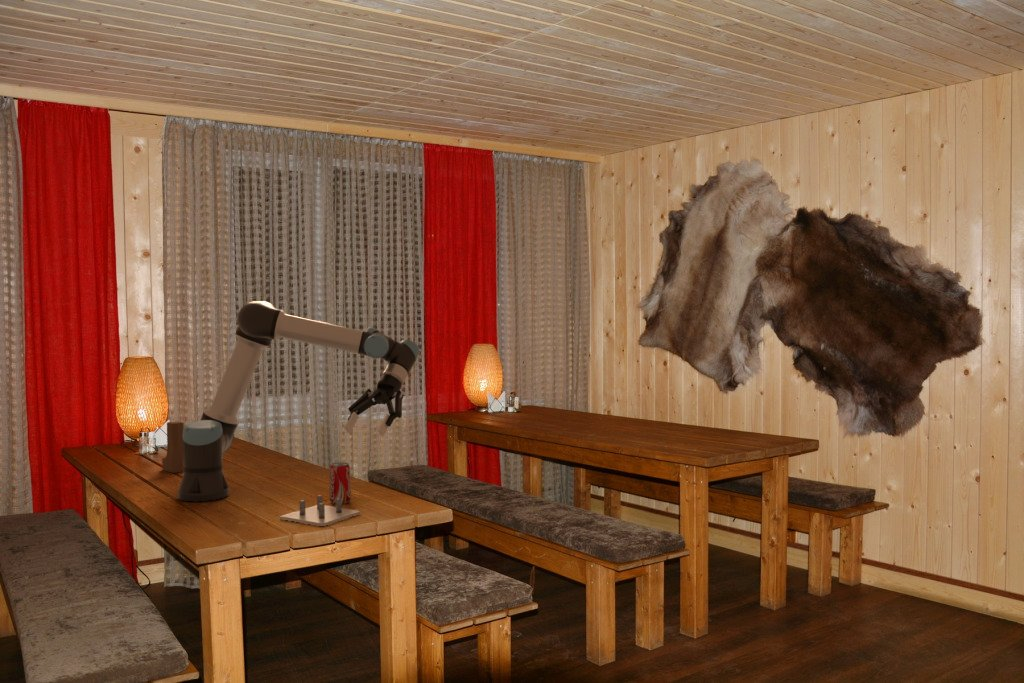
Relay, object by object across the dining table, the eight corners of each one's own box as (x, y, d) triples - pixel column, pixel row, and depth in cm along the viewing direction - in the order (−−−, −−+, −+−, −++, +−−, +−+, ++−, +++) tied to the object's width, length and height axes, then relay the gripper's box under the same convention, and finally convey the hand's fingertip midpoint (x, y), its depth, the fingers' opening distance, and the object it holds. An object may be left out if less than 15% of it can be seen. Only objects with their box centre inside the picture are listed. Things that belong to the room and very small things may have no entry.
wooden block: (161, 470, 312) (161, 421, 312) (174, 468, 316) (173, 419, 315) (172, 473, 306) (171, 423, 305) (184, 471, 309) (184, 422, 308)
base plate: (279, 519, 242) (279, 516, 242) (318, 507, 256) (318, 504, 256) (322, 527, 234) (322, 523, 234) (360, 514, 248) (360, 510, 248)
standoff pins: (298, 514, 243) (298, 501, 243) (319, 508, 251) (319, 494, 251) (321, 518, 239) (321, 504, 239) (342, 512, 246) (342, 498, 246)
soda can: (343, 499, 267) (343, 460, 266) (354, 502, 262) (354, 463, 262) (326, 502, 263) (325, 463, 262) (336, 505, 258) (336, 466, 258)
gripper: (427, 389, 280) (400, 441, 267) (367, 386, 292) (339, 436, 280) (417, 374, 275) (389, 427, 262) (357, 371, 287) (327, 422, 275)
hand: (363, 431), depth 271 cm, fingers open, 13 cm apart
